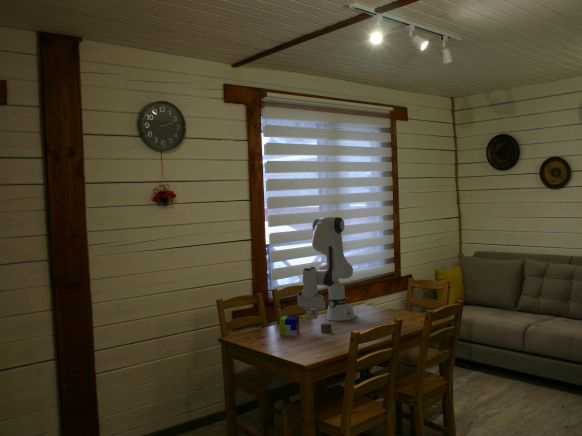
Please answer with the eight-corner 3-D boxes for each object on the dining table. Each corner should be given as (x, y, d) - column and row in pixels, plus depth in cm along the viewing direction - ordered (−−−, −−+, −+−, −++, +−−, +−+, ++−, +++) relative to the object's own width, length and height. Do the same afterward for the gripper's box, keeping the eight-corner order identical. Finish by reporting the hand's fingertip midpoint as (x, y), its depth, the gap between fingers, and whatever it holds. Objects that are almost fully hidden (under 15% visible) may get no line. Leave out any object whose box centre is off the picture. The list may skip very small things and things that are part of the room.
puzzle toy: (296, 336, 313) (295, 319, 313) (280, 335, 315) (279, 319, 315) (299, 332, 323) (298, 316, 323) (283, 331, 325) (283, 315, 325)
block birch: (311, 316, 324) (311, 308, 324) (317, 317, 321) (317, 309, 320) (306, 318, 320) (305, 309, 320) (312, 319, 317) (311, 310, 317)
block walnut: (325, 330, 324) (325, 322, 324) (331, 331, 321) (331, 323, 321) (321, 332, 321) (321, 324, 321) (326, 333, 318) (326, 325, 318)
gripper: (326, 293, 315) (328, 316, 315) (302, 290, 329) (303, 312, 330) (320, 295, 310) (321, 318, 311) (295, 292, 325) (296, 314, 325)
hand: (311, 315), depth 320 cm, fingers closed on block birch, 5 cm apart
